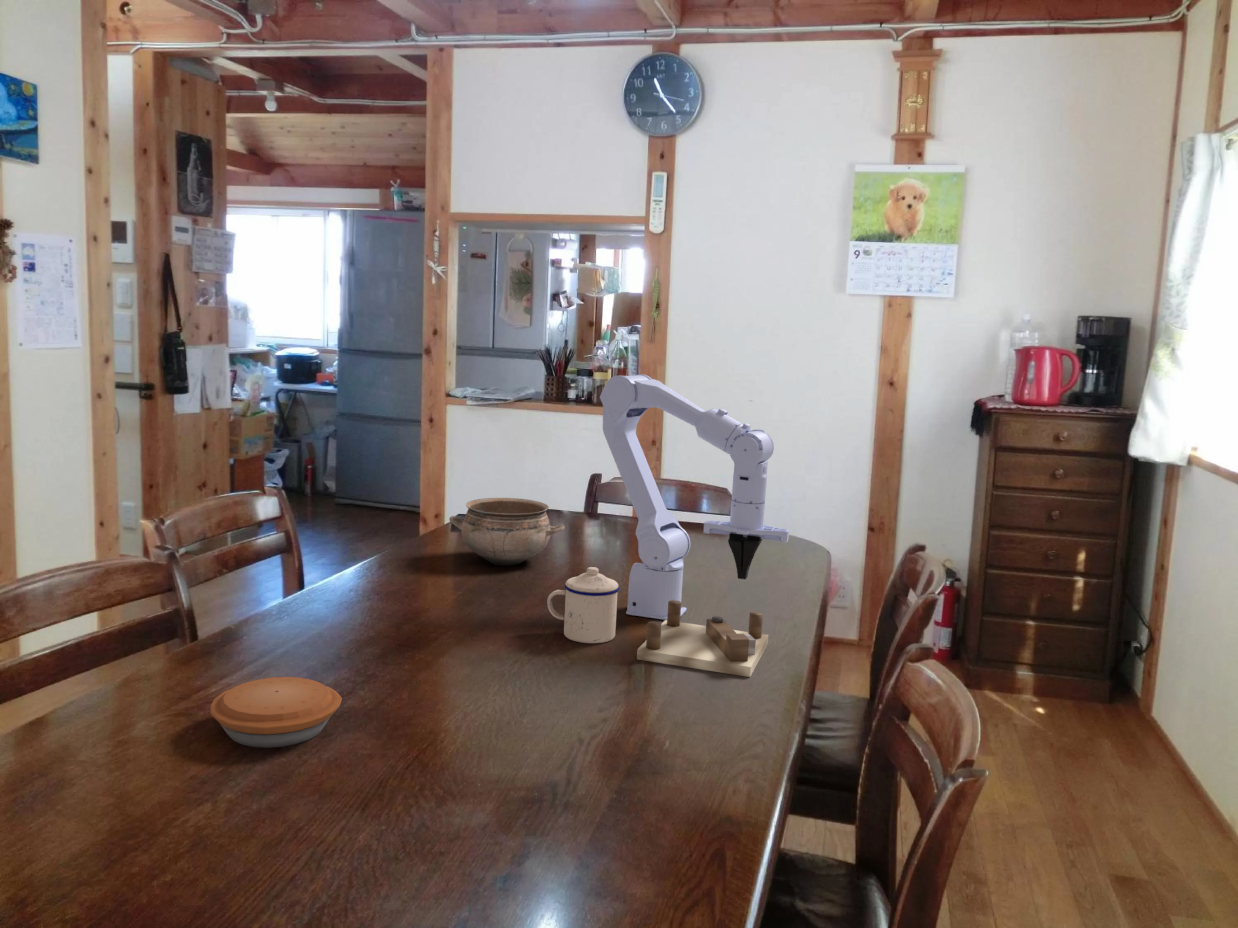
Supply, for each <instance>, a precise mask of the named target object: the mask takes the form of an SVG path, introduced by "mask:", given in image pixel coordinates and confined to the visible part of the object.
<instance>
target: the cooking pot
mask: <svg viewBox="0 0 1238 928" xmlns="http://www.w3.org/2000/svg"><path fill="white" fill-rule="evenodd" d="M465 506H466V508H467V511H466V513H465V516H464V518H460V517H458V516H455V515H451V516H450V517H449V522H450V523H451V524H452V525H453V526H455V527H457V528H458V529H459V530H460V531H461V536H462V540H463V542H464V544H465V545H466V547H467V548H468V549H470V550H471V551H472V552H473V553H474V554H477V555H478V556H480V557H481V558H482V559H484V560H486V561H487V562H489V563H490V564H492V565H496V566H516V565H520V564H521V563H523V562H525V561H527V560H529V559H531V558H533V557H534V556H536V555H537V554H539V553H540V552H542V551H543V550H544V549H545V548H546V547H547V545H548V543H549V541H550V539H551V536H552V535H554V534H558V533H560V532H562V531H563V530H565V528H566V527H565V525H564V524H561V525H557V526H553V525H551V523H550V519H549V517H548V514H547V511H548V510H549V507H550V506H549V505H548V504H546V503H544V502H541V501H538V500H533V499H526V498H515V497H486V498H477V499H473V500H470V501H468V502H466V503H465Z"/></svg>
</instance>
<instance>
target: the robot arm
mask: <svg viewBox="0 0 1238 928" xmlns="http://www.w3.org/2000/svg"><path fill="white" fill-rule="evenodd" d="M599 399H600V402H601V404H602V432H603V435H604V438H605V440H606V443H607V445H608V448H609V450H610V452H611V455H612V457H613V459H614V462H615V465H616V467H617V469H618V472H619V475H620V478H621V480H622V482H623V484H624V487H625V490H626V493H627V494H628V498H629V499H630V502H631V505H632V507H633V510H634V512H635V514H636V517H637V519H638V520H637V521H638V522H637V525H636V529H635V536H636V538H637V543H638V547H637V548H638V549H637V551H638V556H639V558H640V560H641V562H635V563H633V564H632V566H631V568H630V571H629V577H628V592H627V610H626V611H625V614H626V615H629V616H638V617H643V618H651V619H656V620H663V621H665V620H667V615H668V601H671V600H676V601H680V602H681V603H682V592H683V579H684V576H683V575H684V558H685V557H686V556H687V555H688V554H689V552H690V550H691V539H690V535H689V534H688V531H686V530H685V529H684V528H683V527H682V526H681V524H680V523H679V521H678V519H677V516H675V515H674V514H673V513H671V511H669V510H668V509H667V507H666V505H665V503H664V500H663V497H662V496H661V493H660V491H659V488H658V485H657V483H656V480H655V478H654V476H653V472H652V471H651V467H650V465H649V463H648V460H647V458H646V456H645V452H644V450H643V448H642V446H641V444H640V441H639V438H638V436H637V433H636V428H637V425H638V423H639V422H640V419H641V417H642V416H644V414H645V413H646V412H647V411H648V409H650V408H658V409H660V410H662V411H664V412H666V413H668V414H670V415H672V416H674V417H675V418H677V419H680V420H682V421H683V422H685V423H687V424H689V425H691V426H693V427H695V431H696V433H697V436H698V438H700V439H702V440H703V441H705V442H707V443H709V444H710V445H712V446H714V447H716V448H717V449H719V450H721V451H722V452H724V453H726V454H727V455H729V456H730V458H731V460H732V461H733V464H734V465H733V467H734V468H733V475H732V489H731V501H730V503H731V504H730V518H729V521H724V520H722V521H720V520H717V521H716V520H715V521H714V520H709V519H708V520H705V521H704V523H703V534H707V535H708V534H715V535H716V534H717V535H725V536H729V537H728V540H727V544H728V546H729V548H730V549H731V553H732V555H733V558H734V563H735V567H736V573H737V579H739V580H746V579H747V578H748V576H749V571H750V566H751V564H752V561H753V559H754V557H755V554H756V552H757V550H758V549H759V547H760V544H761V543H762V541H763V540H767V541H777V542H780V543H785V544H786V543H787V544H788V541H789V540H790V539H789V537H790V529H787V528H786V529H785V528H780V527H775V526H769V525H764V518H765V505H766V495H767V494H766V492H767V491H766V490H767V479H768V466H769V465H768V463H769V462H768V461H769V459H770V458H771V457H772V456H773V454H774V449H775V448H774V447H775V446H774V442H773V439H772V438H771V436H770V435H769V434H768V433H766V432H765V431H764V429H759V428H756V429H752V430H751V424H749V423H747V422H745V423H742V422H740V421H738V420H737V419H735V418H734V417H732V416H730V415H728V413H729V411H727V410H726V409H724V408H719V409H717V408H710V409H708V410H705V409H703V408H701V407H700V406H698V405H697V404H695V403H694V402H692V401H691V400H689V399H687V398H686V397H684V396H682V395H681V394H680V393H678V392H677V391H675V390H674V389H671V388H670V387H668V386H667V385H665V383H663V382H661V381H660V380H658V379H653V378H652V377H651V376H649V375H647V374H644V373H643V374H635V375H614V376H612V377H610V378H609V379H608V380H607V381H606V383H605V385H604V386H603V389H602V391H601V393H600V396H599ZM686 611H687V607H686V606H685V607H684V606H681V615H680V618H681V617H682V616H683V615H684V613H685V612H686Z"/></svg>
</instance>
